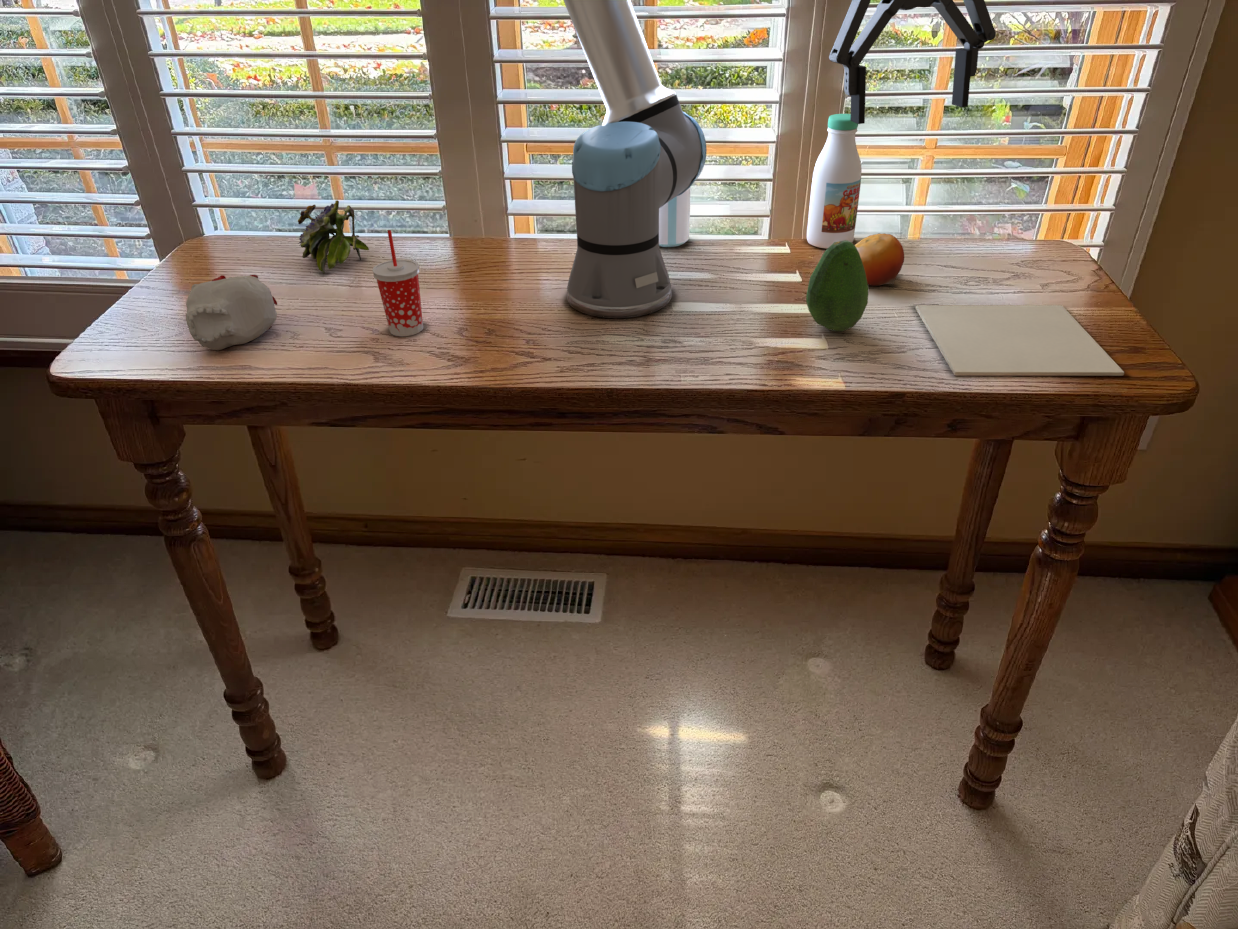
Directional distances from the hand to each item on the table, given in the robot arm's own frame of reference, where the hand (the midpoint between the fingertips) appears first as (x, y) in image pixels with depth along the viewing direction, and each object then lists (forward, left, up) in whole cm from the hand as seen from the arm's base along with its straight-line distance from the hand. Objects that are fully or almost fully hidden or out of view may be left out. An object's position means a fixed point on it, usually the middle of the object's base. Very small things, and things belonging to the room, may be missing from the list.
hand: (908, 113), depth 109 cm
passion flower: (-46, -74, -26) cm, 90 cm away
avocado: (+5, -11, -26) cm, 28 cm away
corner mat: (+16, +9, -26) cm, 32 cm away
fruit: (-8, +3, -26) cm, 27 cm away
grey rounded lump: (-21, -88, -26) cm, 94 cm away
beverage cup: (-15, -66, -26) cm, 72 cm away
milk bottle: (-25, +5, -26) cm, 36 cm away
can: (-35, -20, -26) cm, 47 cm away
